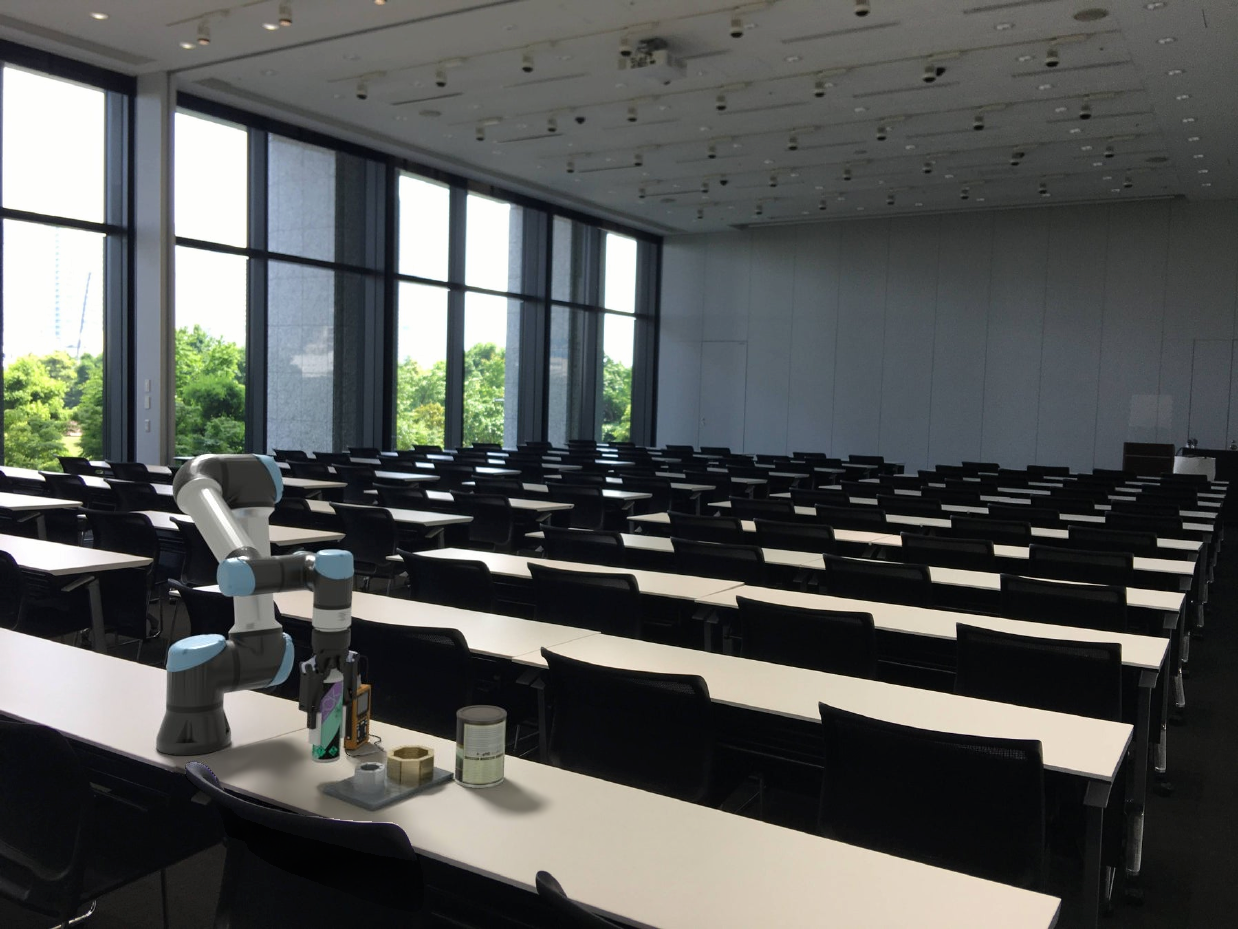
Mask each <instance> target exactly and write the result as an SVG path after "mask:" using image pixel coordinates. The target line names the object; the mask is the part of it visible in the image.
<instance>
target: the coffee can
mask: <svg viewBox="0 0 1238 929" xmlns="http://www.w3.org/2000/svg"><path fill="white" fill-rule="evenodd" d="M507 716H508V712H507V711H506V710H505V709H504V708H503V707H502V708H501V707H499V706H495V705H485V704H484V705H483V704H478V705H477V704H476V705H469V706H465V707H461V708H459V709H458V710H457V711H456V739H455V765H454V768H455V770H454V779H453V780H454V782H455V783H456V784H457V785H458V786H461V785H462V787H465V788H469V787H472V788H471V789H486V787H488V788H493V787H496V786H498V785H500V784H502V783H503V782H504V780H505V777H504V776H505V775H504V773H505V755H506V754H505V751H506V750H505V749H506V732H507V731H506V730H507V729H506V727H507Z"/></svg>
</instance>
